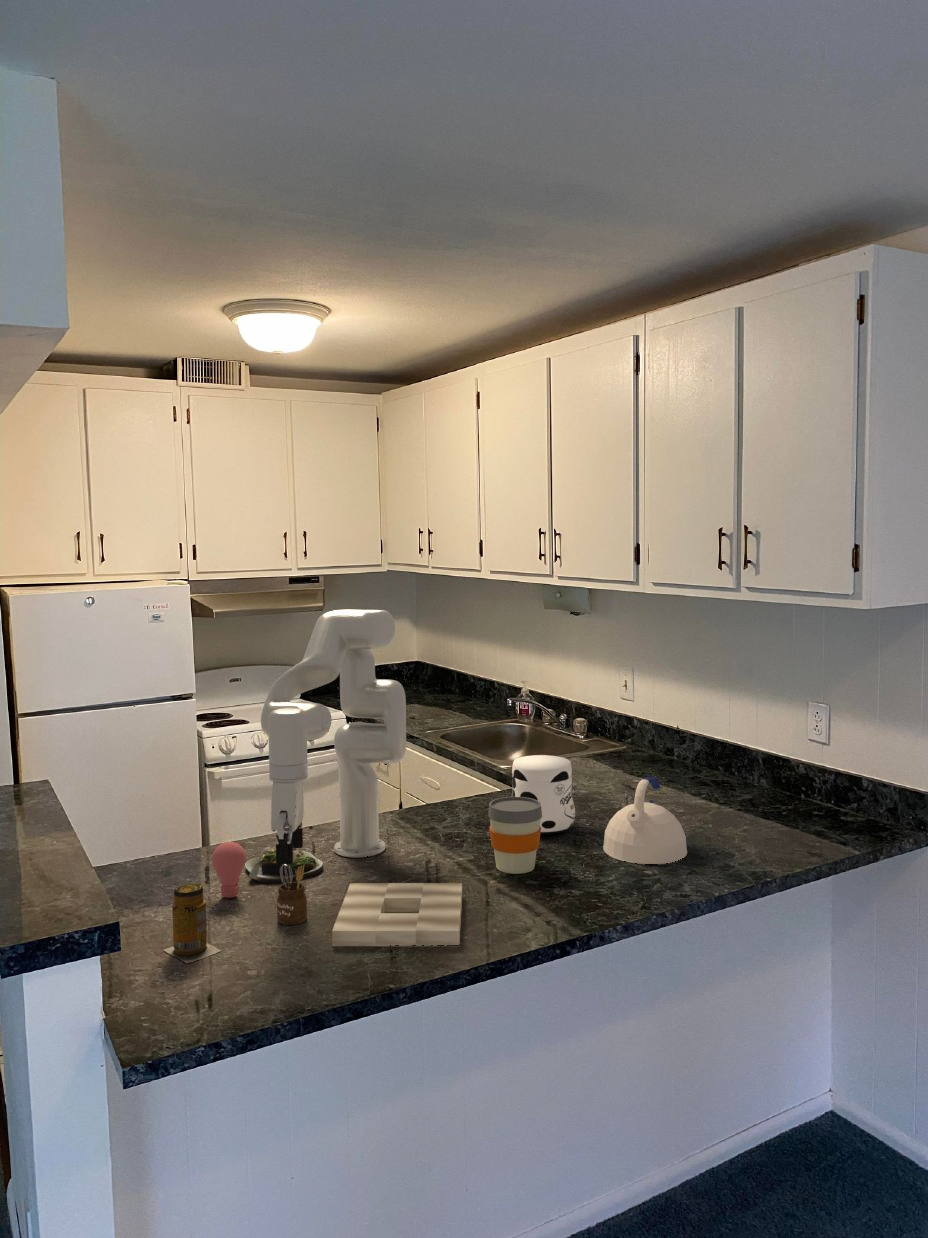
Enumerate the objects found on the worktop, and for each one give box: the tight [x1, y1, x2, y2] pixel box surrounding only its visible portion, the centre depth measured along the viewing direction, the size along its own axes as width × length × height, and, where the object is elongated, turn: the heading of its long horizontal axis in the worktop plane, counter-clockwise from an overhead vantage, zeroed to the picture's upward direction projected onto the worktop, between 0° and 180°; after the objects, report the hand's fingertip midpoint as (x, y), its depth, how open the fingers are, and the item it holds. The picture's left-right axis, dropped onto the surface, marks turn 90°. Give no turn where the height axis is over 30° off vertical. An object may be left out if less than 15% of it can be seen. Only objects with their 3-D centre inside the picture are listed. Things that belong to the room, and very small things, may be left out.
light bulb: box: [211, 841, 247, 899], centre depth 198 cm, size 7×7×12 cm
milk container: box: [511, 754, 576, 835], centre depth 242 cm, size 17×17×18 cm
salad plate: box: [244, 848, 324, 884], centre depth 215 cm, size 19×18×5 cm
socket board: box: [331, 882, 463, 947], centre depth 185 cm, size 24×24×3 cm
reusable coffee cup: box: [487, 796, 542, 875], centre depth 214 cm, size 13×12×15 cm
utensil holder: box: [276, 864, 308, 926], centre depth 185 cm, size 6×6×12 cm
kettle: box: [602, 776, 688, 865], centre depth 224 cm, size 20×21×18 cm
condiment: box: [163, 883, 222, 964], centre depth 172 cm, size 7×8×12 cm
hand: (289, 855), depth 184 cm, fingers open, 9 cm apart
